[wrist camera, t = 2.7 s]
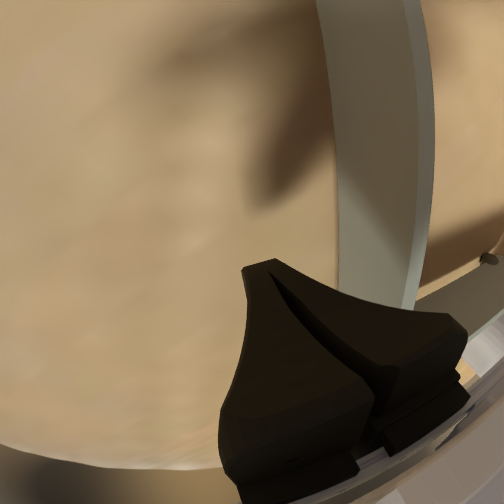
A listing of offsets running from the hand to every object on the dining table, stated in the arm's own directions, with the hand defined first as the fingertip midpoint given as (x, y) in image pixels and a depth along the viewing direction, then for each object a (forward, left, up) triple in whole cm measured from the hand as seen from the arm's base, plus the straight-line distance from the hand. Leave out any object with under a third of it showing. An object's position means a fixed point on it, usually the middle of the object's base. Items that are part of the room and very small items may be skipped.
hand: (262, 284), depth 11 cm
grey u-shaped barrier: (+5, -15, -3) cm, 16 cm away
